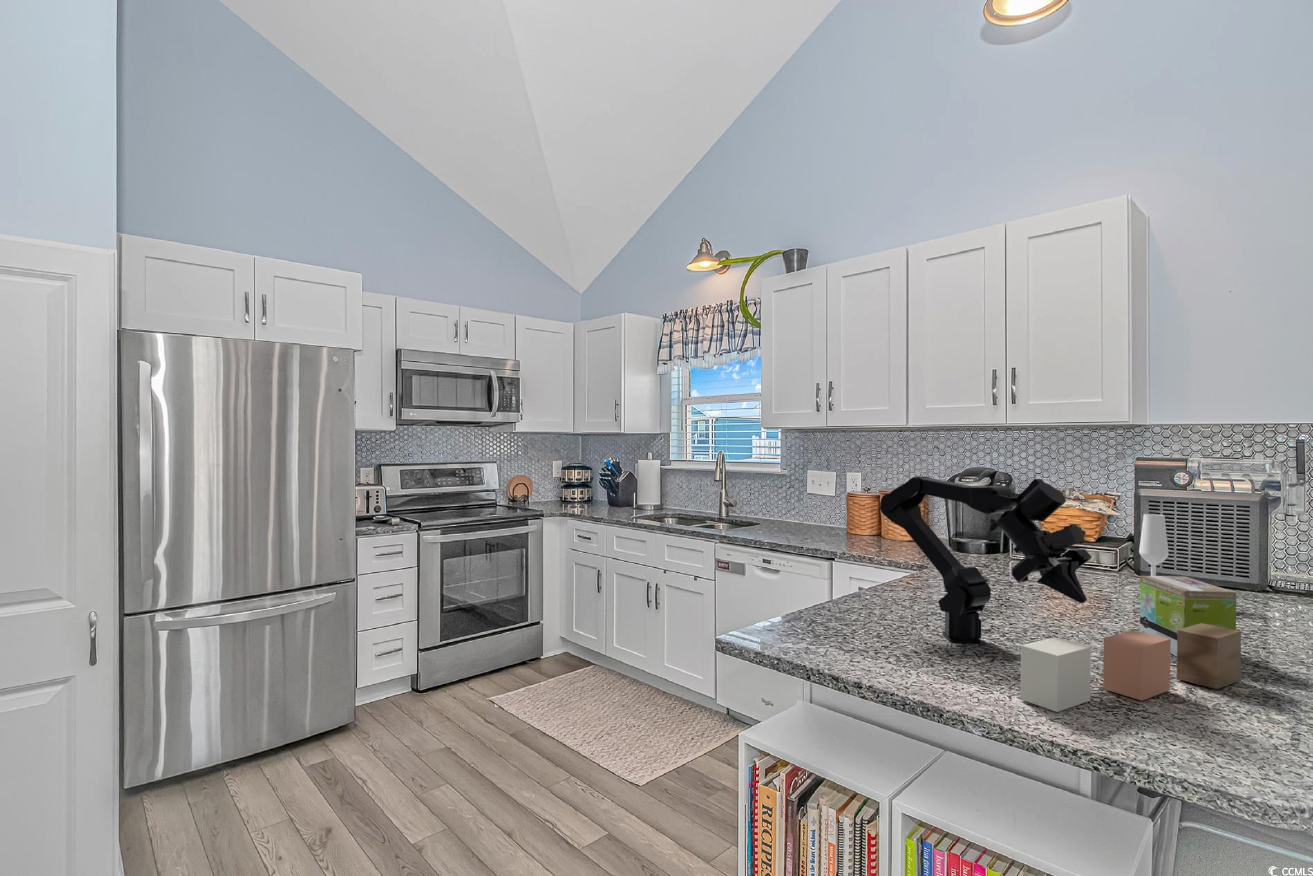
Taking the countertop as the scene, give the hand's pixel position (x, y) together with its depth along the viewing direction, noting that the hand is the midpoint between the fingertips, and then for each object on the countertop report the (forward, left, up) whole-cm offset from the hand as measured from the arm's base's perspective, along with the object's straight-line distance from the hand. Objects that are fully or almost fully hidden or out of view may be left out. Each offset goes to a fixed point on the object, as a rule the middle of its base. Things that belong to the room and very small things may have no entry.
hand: (1084, 602), depth 123 cm
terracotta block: (+5, -7, -14) cm, 16 cm away
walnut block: (+22, +1, -14) cm, 26 cm away
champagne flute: (+52, +72, -14) cm, 90 cm away
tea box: (+29, +20, -14) cm, 38 cm away
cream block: (-11, -15, -14) cm, 23 cm away
